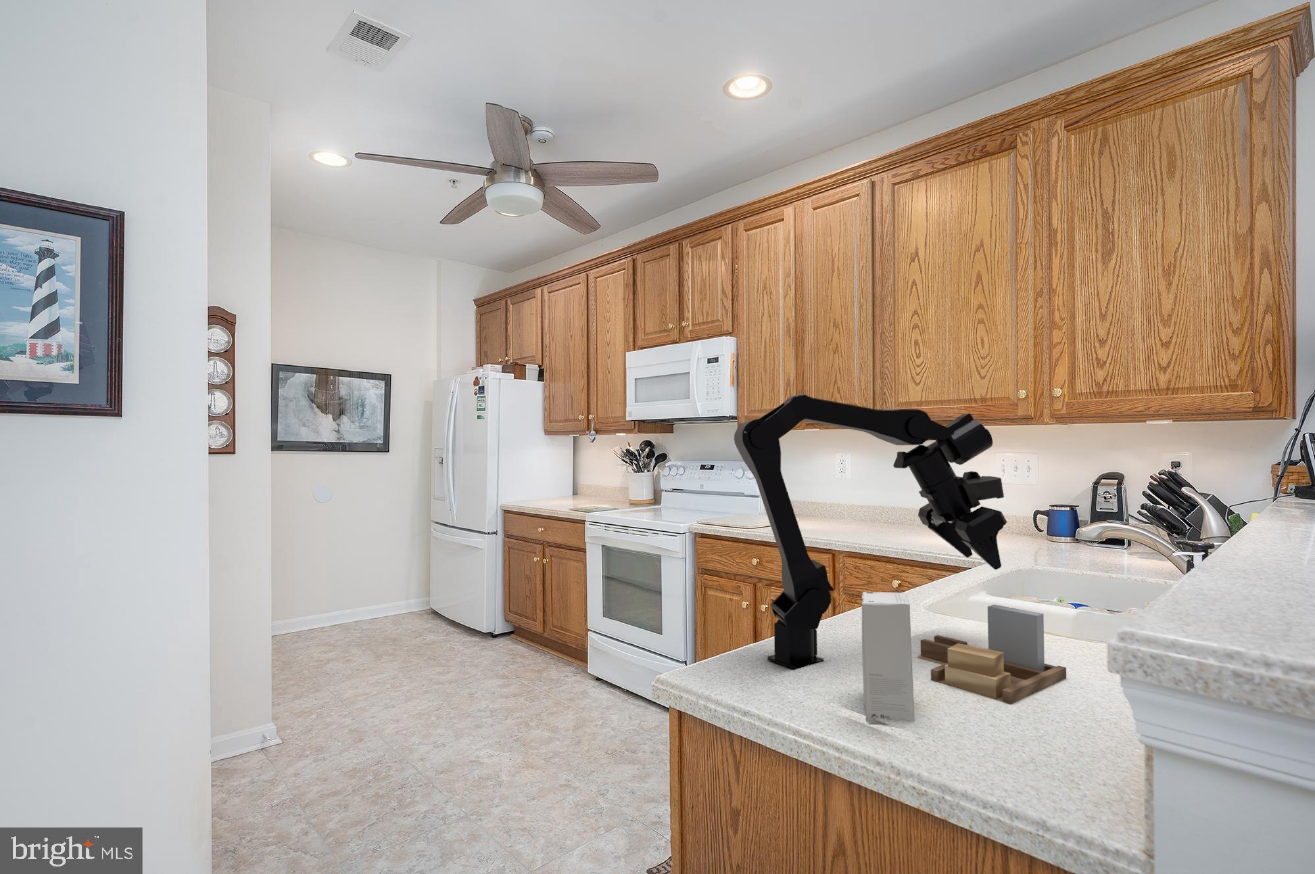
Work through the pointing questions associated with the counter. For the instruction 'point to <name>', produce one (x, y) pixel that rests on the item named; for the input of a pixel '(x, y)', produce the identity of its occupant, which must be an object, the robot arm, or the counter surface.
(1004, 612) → the gray rectangular block
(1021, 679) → the rack
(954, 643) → the stand
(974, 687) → the offcut
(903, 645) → the skincare box
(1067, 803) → the counter surface
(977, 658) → the offcut
